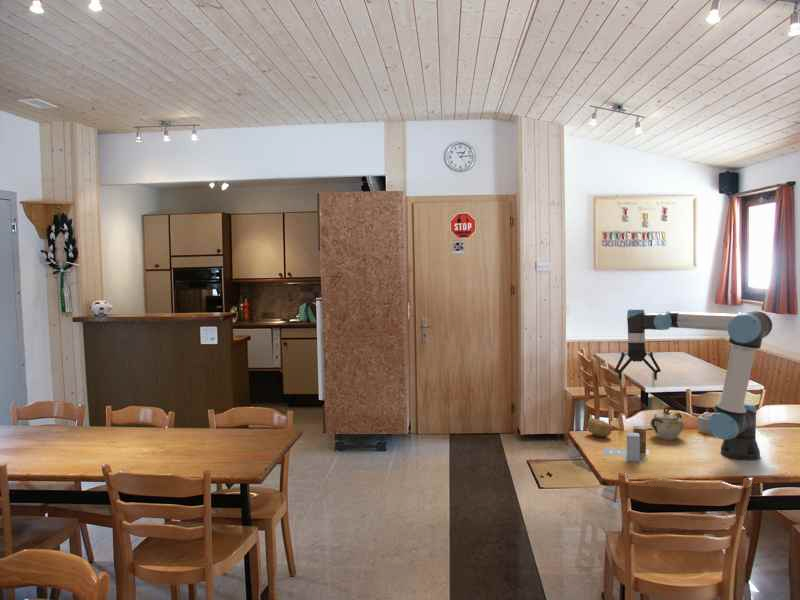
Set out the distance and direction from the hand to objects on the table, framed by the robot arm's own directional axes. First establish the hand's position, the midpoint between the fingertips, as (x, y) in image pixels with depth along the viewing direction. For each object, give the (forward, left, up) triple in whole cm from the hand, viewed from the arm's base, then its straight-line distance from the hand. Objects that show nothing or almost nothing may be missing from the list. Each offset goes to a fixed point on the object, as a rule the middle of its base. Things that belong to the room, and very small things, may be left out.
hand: (637, 386), depth 291 cm
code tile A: (+4, +22, -27) cm, 34 cm away
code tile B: (-6, +28, -27) cm, 39 cm away
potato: (+18, +1, -27) cm, 32 cm away
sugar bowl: (-9, -15, -27) cm, 32 cm away
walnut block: (-5, +15, -26) cm, 31 cm away
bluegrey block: (-6, +28, -26) cm, 39 cm away
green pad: (-5, +15, -27) cm, 31 cm away
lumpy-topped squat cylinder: (-24, -39, -27) cm, 53 cm away
